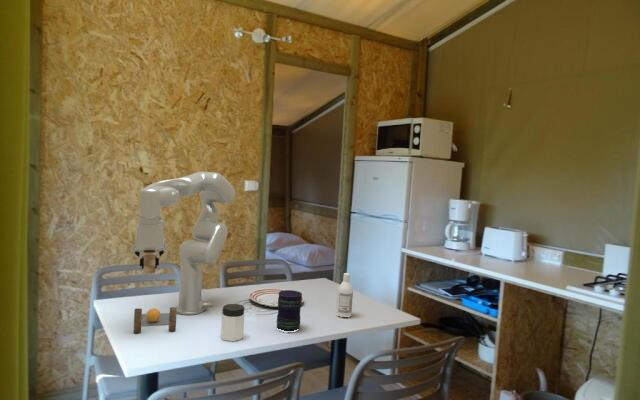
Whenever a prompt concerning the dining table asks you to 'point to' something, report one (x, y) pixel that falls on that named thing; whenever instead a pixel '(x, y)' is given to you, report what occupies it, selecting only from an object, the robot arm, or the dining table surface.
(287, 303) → the storage jar
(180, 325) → the dining table surface
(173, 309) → the right post
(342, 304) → the bath foam
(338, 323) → the dining table surface
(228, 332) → the jar
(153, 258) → the block
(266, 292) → the dinner plate
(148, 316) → the ball
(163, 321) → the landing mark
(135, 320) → the left post
